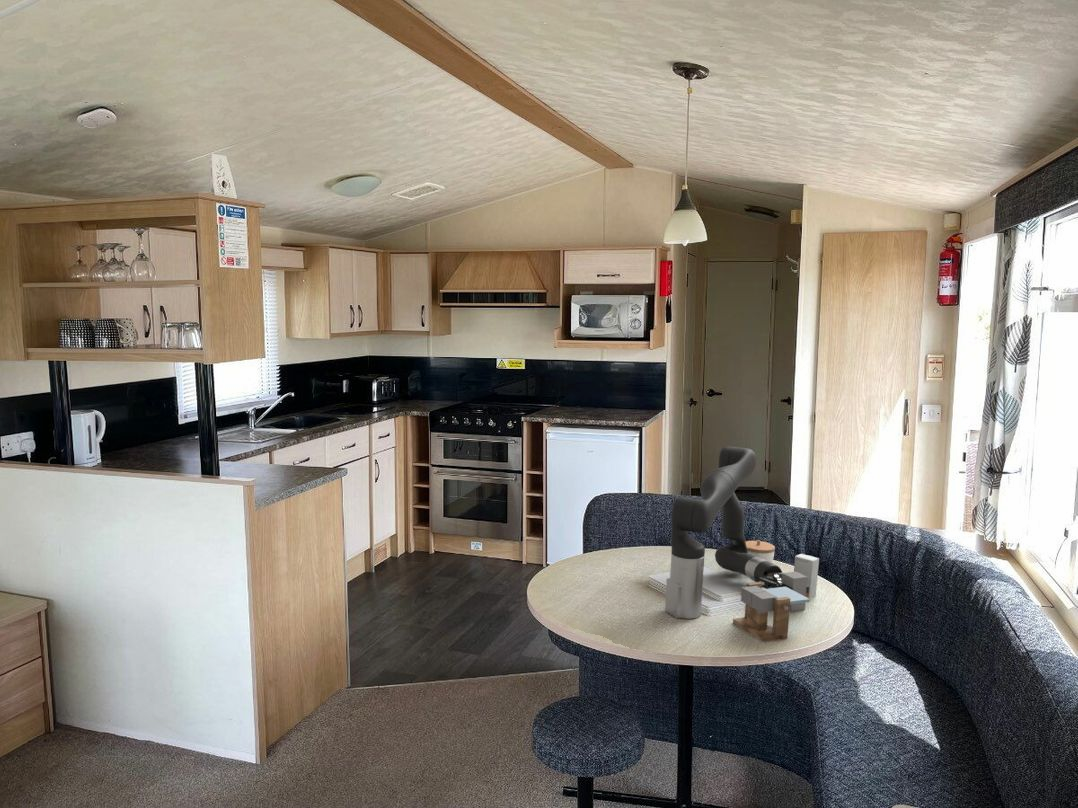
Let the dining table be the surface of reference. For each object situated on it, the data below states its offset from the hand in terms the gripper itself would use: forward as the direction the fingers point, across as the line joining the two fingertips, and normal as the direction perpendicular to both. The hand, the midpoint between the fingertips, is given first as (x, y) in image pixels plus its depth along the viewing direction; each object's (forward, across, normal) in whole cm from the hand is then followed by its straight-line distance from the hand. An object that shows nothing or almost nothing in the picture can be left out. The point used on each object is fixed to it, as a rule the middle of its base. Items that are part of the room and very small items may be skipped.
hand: (799, 591), depth 236 cm
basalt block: (-3, 0, +6) cm, 7 cm away
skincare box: (-11, +11, +6) cm, 17 cm away
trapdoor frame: (+8, -20, +6) cm, 23 cm away
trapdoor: (+8, -16, -1) cm, 18 cm away
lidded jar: (-37, +13, +6) cm, 39 cm away
